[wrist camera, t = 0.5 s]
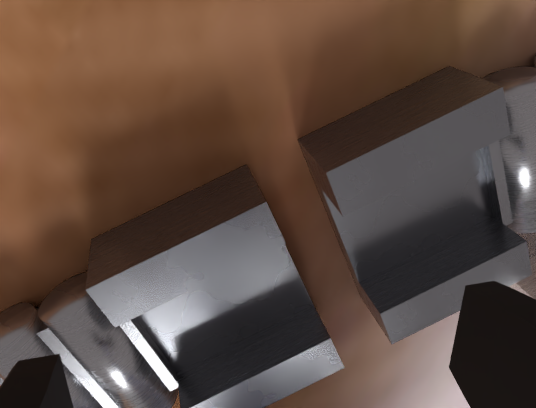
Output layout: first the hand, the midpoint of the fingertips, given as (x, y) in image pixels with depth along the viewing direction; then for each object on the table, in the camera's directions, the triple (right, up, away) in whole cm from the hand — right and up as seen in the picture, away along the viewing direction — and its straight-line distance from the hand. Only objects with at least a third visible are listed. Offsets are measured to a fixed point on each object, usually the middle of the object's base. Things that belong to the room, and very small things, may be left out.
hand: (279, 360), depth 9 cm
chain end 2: (+7, +4, +11) cm, 14 cm away
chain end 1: (-4, -1, +11) cm, 12 cm away
